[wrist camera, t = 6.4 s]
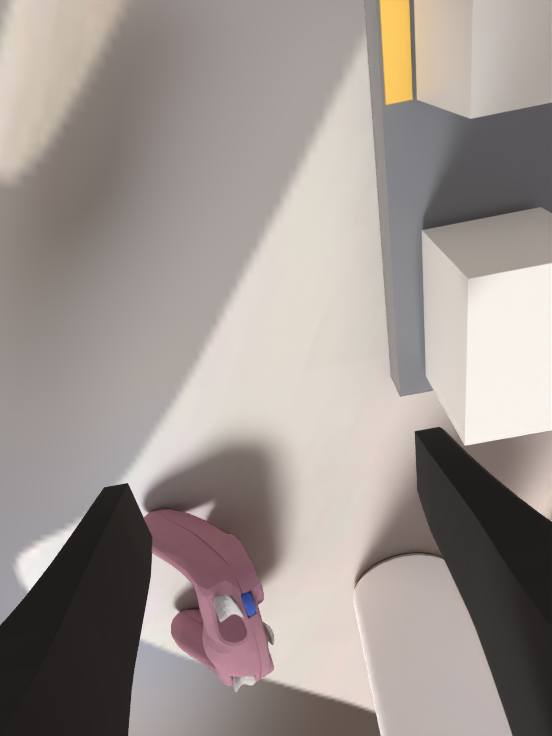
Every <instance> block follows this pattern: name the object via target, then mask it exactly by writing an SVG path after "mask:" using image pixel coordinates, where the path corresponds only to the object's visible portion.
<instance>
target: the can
mask: <svg viewBox="0 0 552 736" xmlns="http://www.w3.org/2000/svg"><path fill="white" fill-rule="evenodd" d="M353 599H354V606H355V611H356V616H357V622H358V627H359V632H360V636H361V641H362V646H363V651H364V656H365V661H366V666H367V671H368V676H369V680H370V685H371V690H372V695H373V700H374V705H375V709H376V714H377V719H378V724H379V729H380V733H381V736H512V733H511V730H510V727H509V724H508V721H507V718H506V715H505V712H504V709H503V706H502V703H501V700H500V697H499V694H498V691H497V688H496V685H495V682H494V680H493V677H492V674H491V671H490V668H489V665H488V662H487V660H486V657H485V654H484V651H483V648H482V646H481V643H480V640H479V637H478V634H477V632H476V629H475V627H474V624H473V622H472V619H471V617H470V615H469V612H468V610H467V608H466V606H465V603H464V601H463V599H462V597H461V595H460V593H459V591H458V588H457V586H456V584H455V582H454V580H453V578H452V575H451V573H450V571H449V569H448V567H447V565H446V563H445V560H444V559H442V558H440V557H438V556H435V555H431V554H424V553H409V554H402V555H398V556H394V557H391V558H388V559H386V560H383V561H381V562H379V563H378V564H376V565H374V566H373V567H372V568H370V569H369V570H368V571H367V572H366V573H365V574H364V575H363V576H362V577H361V579H360V580H359V582H358V583H357V585H356V587H355V590H354V594H353Z"/></svg>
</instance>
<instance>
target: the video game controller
mask: <svg viewBox="0 0 552 736" xmlns="http://www.w3.org/2000/svg"><path fill="white" fill-rule="evenodd" d="M144 520H145V522H146V524H147V526H148V529H149V531H150V533H151V535H152V537H153V538H152V553H153V554H155V555H156V556H158V557H159V558H161V559H163V560H164V561H166V562H167V563H169V564H171V565H172V566H173V567H175V568H176V569H177V570H179V571H180V572H181V573H182V574H183V575H184V576H185V577H186V578H187V579H188V580H189V581H190V582H191V583H192V585H193V586H194V588H195V591H196V594H197V599H198V603H199V608H200V610H198V609H190V610H184V611H181V612H179V613H178V614H177V615H176V616H175V617H174V619H173V621H172V624H171V634H172V637H173V638H174V640H175V642H176V643H177V645H178V646H179V647H180V648H181V649H182V650H183V651H184V652H186V653H187V654H188V655H190V656H191V657H193V658H195V659H196V660H198V661H199V662H201V663H203V664H204V665H205V666H207V667H208V668H209V669H211V670H212V671H213V672H214V673H215V674H216V675H217V676H218V677H219V679H220V680H221V681H222V682H223V683H224V684H226V685H227V686H234V690H235V692H237V690H238V689H239V687H240V686H241V685H253V684H254V683H255V682H257V681H258V680H260V679H261V678H263V677H265V676H266V675H268V674H269V673H271V672H272V671H273V670H274V665H273V662H272V658H271V655H270V652H269V649H268V641H269V642H270V643H271V644H272V645H273V644H274V634H273V632H272V629H271V628H270V626H268V625H267V624H265V623H264V622H262V619H261V615H260V611H259V608H258V604H260V603H261V602H262V601H263V599H264V593H263V589H262V585H261V583H260V580H259V577H258V574H257V572H256V570H255V567H254V565H253V563H252V561H251V559H250V557H249V555H248V554H247V552H246V550H245V548H244V546H243V545H242V544H241V542H240V541H239V539H238V538H237V537H236V536H235V535H233V534H226V533H225V532H223V531H221V530H220V529H218V528H216V527H215V526H213V525H212V524H210V523H208V522H207V521H205V520H203V519H201V518H198V517H196V516H193V515H191V514H189V513H185V512H181V511H177V510H168V509H162V510H156V511H151V512H150V513H149V514H147V515H146V516H145V517H144Z"/></svg>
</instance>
